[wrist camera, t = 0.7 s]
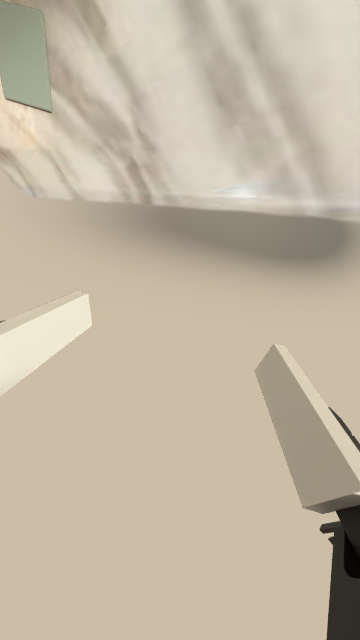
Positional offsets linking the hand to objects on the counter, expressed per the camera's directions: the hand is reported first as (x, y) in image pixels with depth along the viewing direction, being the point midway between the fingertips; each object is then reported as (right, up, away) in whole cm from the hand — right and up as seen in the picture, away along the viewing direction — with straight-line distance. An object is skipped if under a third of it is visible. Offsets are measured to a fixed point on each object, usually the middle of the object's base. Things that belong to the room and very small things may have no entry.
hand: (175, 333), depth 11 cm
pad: (-27, +45, +15) cm, 55 cm away
